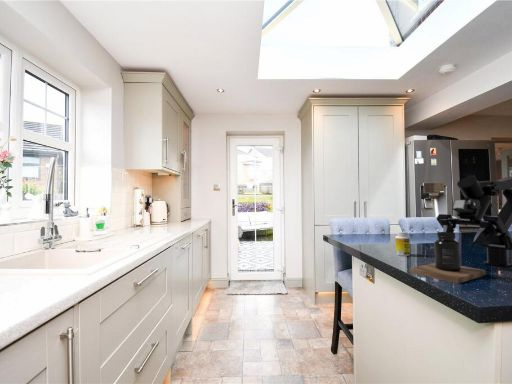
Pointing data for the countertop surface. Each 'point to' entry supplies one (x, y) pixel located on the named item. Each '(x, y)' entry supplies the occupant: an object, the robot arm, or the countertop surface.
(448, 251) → the supplement bottle
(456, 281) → the walnut board
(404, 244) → the supplement bottle
